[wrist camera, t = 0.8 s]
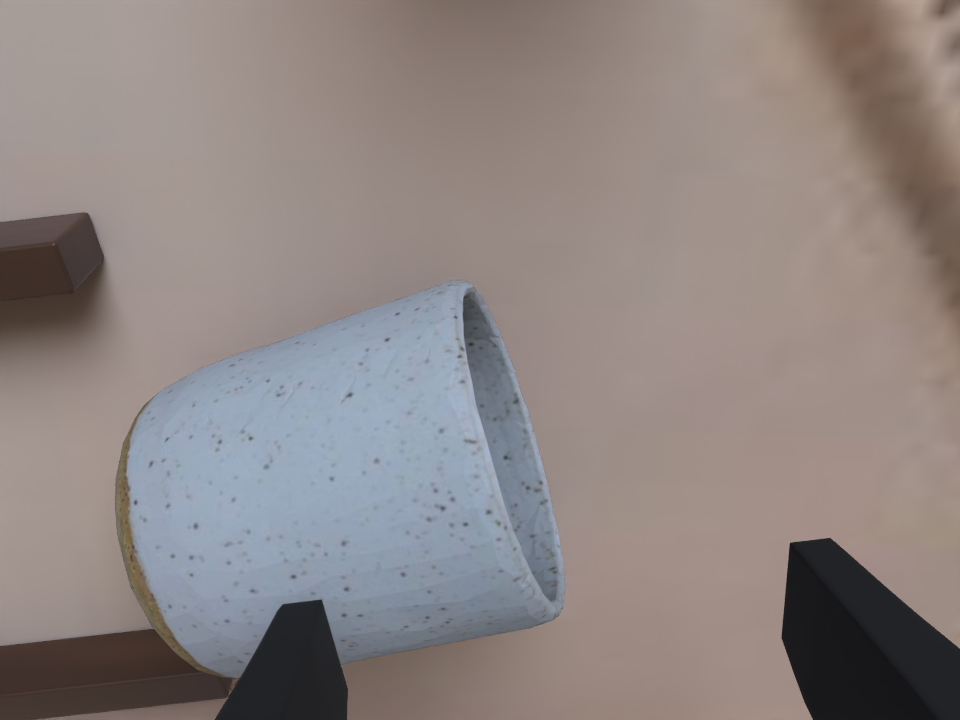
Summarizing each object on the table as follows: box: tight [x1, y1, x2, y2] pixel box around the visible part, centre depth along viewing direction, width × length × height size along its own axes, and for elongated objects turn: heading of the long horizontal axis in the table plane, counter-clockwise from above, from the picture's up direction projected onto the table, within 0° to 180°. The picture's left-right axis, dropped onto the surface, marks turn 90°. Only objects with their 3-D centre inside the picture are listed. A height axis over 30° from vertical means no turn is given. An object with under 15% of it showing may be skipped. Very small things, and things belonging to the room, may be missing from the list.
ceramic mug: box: [115, 280, 565, 678], centre depth 20 cm, size 11×8×8 cm
